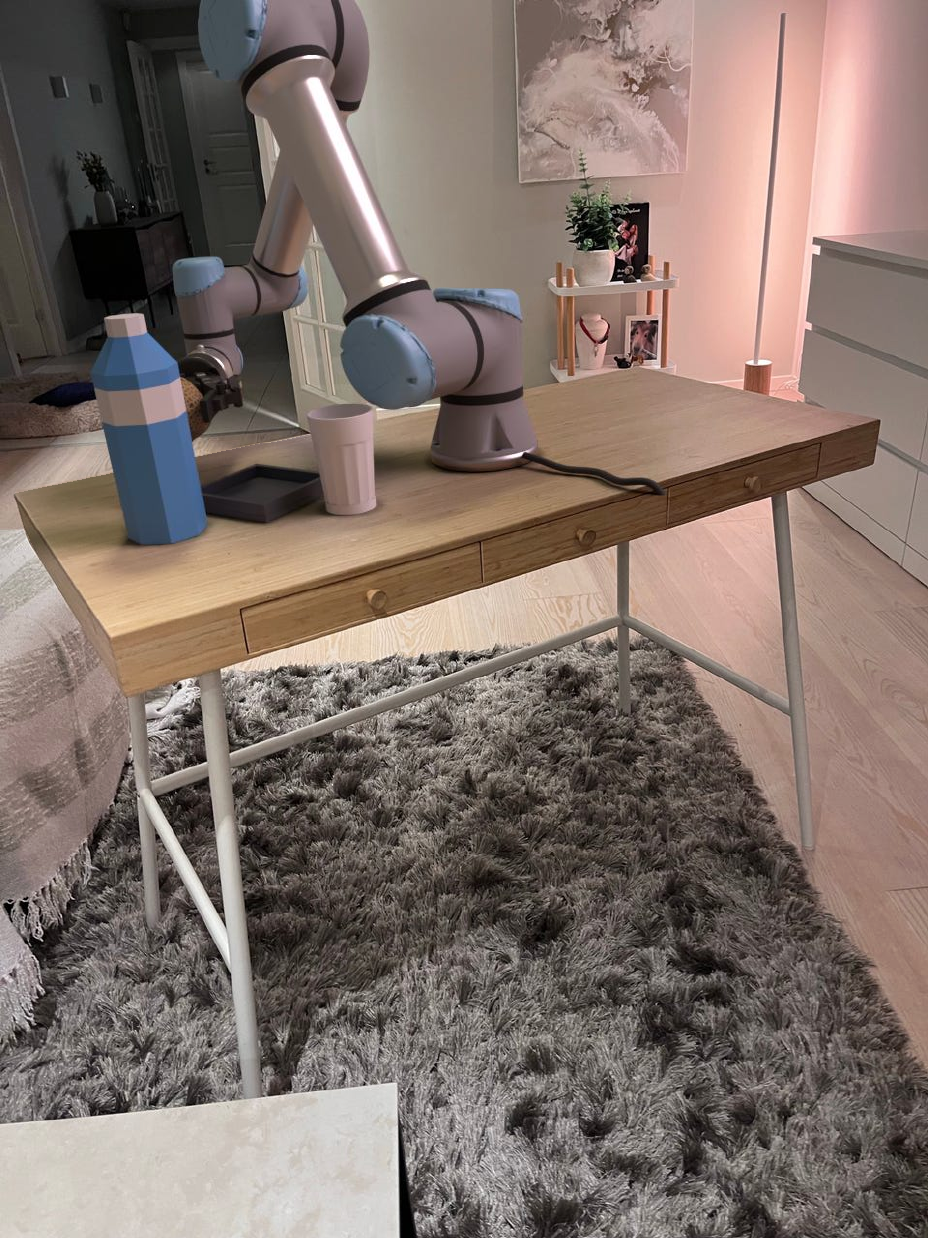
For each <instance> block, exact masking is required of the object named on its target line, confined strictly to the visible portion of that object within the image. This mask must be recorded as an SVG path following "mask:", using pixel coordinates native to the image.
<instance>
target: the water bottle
mask: <svg viewBox="0 0 928 1238" xmlns="http://www.w3.org/2000/svg"><path fill="white" fill-rule="evenodd" d="M103 322H104V324H105V330H106V334H107V337H106V339H105V342H104V344H103V346H102V347H101V350H100V352H99V354H98V356H97V358H96V360H95V362H94V364H93V367H92V369H91V370H90V376H91V380H92V381H91V382H92V384H93V389H94V394H95V398H96V403H97V407H98V411H99V416H100V420H101V425H102V429H103V434H104V437H105V442H106V447H107V451H108V455H109V460H110V464H111V469H112V473H113V477H114V482H115V486H116V489H117V495H118V499H119V500H118V501H119V503H120V507H121V513H122V517H123V521H124V526H125V528H126V529H125V530H126V535H127V538H128V539H129V540H131V541H133V542H135V543H137V544H139V545H141V546H144V545H145V546H146V545H147V546H149V545H172V544H175V543H179V542H181V541H185V540H188V539H190V538H195V537H197V536H200V535H201V534H202V533H203V531H204V530H205V529H206V528H207V526H208V525H209V524H208V519H207V513H205V508H204V502H203V497H202V492H201V486H202V485H201V482H200V476H199V471H198V465H197V459H196V456H195V455H196V454H195V449H194V445H193V442H192V438H191V433H190V428H189V422H188V417H187V412H186V406H185V401H184V396H183V390H182V385H181V380H180V374H179V369H178V364H177V362H178V361H177V360H175V359H174V358H173V356H172V355H171V354H170V353H169V352H168V351H167V350H165V349H164V347H163V346H161V344H160V343H159V342H158V341H157V340H156V339H155V338H153V336H151V334H149V332H148V330H147V325H146V320H145V315H144V313H138V312H135V313H122V314H121V313H120V314H117V315H114V314H113V315H108V316H106V317H104V318H103Z"/></svg>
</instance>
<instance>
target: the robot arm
mask: <svg viewBox="0 0 928 1238" xmlns="http://www.w3.org/2000/svg"><path fill="white" fill-rule="evenodd" d="M198 12H199V13H198V20H197V29H198V31H197V32H198V41H199V47H200V50H201V51H200V52H201V55H202V58H203V61H204V62H205V65H206V67H207V69H208V70H209V71H210V73H211V74H212V75H213V76H214V77H215V78H217V79H220V80H221V81H223V82H224V83H226V84H236V85H237V87H238V89H239V91H240V93H241V96H242V98H243V101H244V102H245V105H246V108H247V109H248V111H249V112H250V113H252V114H253V115H254V116H257V117H260V118H263V119H265V120H266V121H267V124H268V126H269V129H270V130H271V132H272V136H273V137H274V139H275V141H276V144H277V146H278V148H279V153H278V156H277V161H276V164H275V168H274V171H273V175H272V179H271V182H270V187H269V189H268V195H267V198H266V201H265V206H264V209H263V213H262V217H261V220H260V225H259V228H258V232H257V235H256V238H255V239H256V240H255V242H254V243H255V244H254V247H253V250H252V253H251V257H250V260H249V263H247V264H244V265H237V266H227V267H225V266H224V262H223V259H222V258H220V257H219V256H197V257H187V258H181V259H178V260H176V261H175V262H174V263H173V265H172V277H173V278H172V280H173V289H174V294H175V297H176V301H177V302H176V303H177V306H178V307H177V308H178V311H179V316H180V320H181V325H182V330H183V332H182V333H183V340H184V346H185V351H186V355H185V356H183V357H181V359H180V360H178V361H176V362H177V364H178V369H179V374H180V377H181V378H184V379H186V380H187V381H189V382H191V383H192V384H193V385H194V386H195V387H196V388H197V389H198V390H199V391H200V393H201V394H202V396H203V398H202V399H201V400H200V406H201V412H202V417H203V423H209V422H210V421H211V420H212V421H213V420H214V418H215V416H217V414H218V413H219V412H222V411H224V410H227V409H229V408H230V405H232V406H233V407H234V408H239V409H240V408H242V407H244V400H243V393H244V390H243V384H242V383H243V382H242V378H241V373H242V370H243V366H244V358H243V354H242V352H241V349H240V348H239V346H238V345H237V343H236V337H235V330H234V320H240V319H243V318H248V317H254V316H259V315H267V314H272V313H281V312H286V311H288V310H291V309H294V308H298V307H299V306H301V305H302V304H303V303H304V302H305V300H306V299H307V296H308V293H309V289H308V282H309V281H308V276H307V273H306V271H305V269H304V268H303V266H302V263H303V260H304V257H305V255H306V250H307V247H308V245H309V241H310V238H311V235H312V232H313V231H312V230H313V228H314V229H315V231H316V234H317V235H318V238H319V240H320V243H321V245H322V247H323V250H324V252H325V254H326V256H327V257H328V260H329V263H330V265H331V267H332V270H333V271H334V275H335V276H336V279H337V281H338V283H339V286H340V288H341V290H342V293H343V295H344V297H345V298H346V304H345V308H344V310H343V313H342V316H341V319H342V322H343V324H344V326H345V329H344V330H343V332H342V335H341V337H340V338H341V339H340V345H339V347H340V349H342V352H341V353H340V361H341V366H342V368H343V371H344V375H345V376H346V379H347V380H348V382H349V384H350V385H351V387H352V388H353V389H354V391H355V392H356V393H357V394H358V396H360V397H361V398H362V399H363V400H364V401H366V402H367V403H369V404H371V405H373V406H375V407H378V408H379V409H382V410H388V411H396V410H400V409H405V408H416V407H420V406H421V405H423V404H424V403H426V402H429V401H432V400H436V399H439V404H440V405H439V411H438V414H437V419H436V423H435V427H434V431H433V435H432V440H431V445H430V458H431V462H432V463H433V464H434V465H436V466H438V467H440V468H443V469H446V470H452V471H460V472H490V471H499V470H507V469H511V468H515V467H519V466H523V465H525V464H528V463H530V462H532V463H535V464H538V465H542V466H544V467H547V468H550V469H552V470H554V471H556V472H561V473H567V474H574V475H589V476H596V477H599V478H601V479H603V480H606V481H607V482H609V483H611V484H613V485H617V486H622V487H630V486H631V487H632V486H645V487H648V488H649V489H651V490H652V491H654V493H655V494H656V495H658V496H667V493H666V491H665V490H664V488H663V487H662V486H661V485H660V484H659V483H658V482H656V481H655V480H653V479H651V478H649V477H648V478H647V477H641V476H640V477H638V476H637V477H636V476H635V477H620V476H617V475H614V474H612V473H610V472H609V471H607V470H604V469H601V468H596V467H589V466H575V465H565V464H562V463H559V462H556V461H553V460H551V459H548V458H546V457H543V456H539V440H538V437H537V434H536V431H535V429H534V425H533V422H532V420H531V418H530V415H529V412H528V409H527V406H526V404H525V403H526V402H525V401H524V400H525V399H524V376H523V375H524V369H523V368H524V367H523V335H522V333H523V332H522V324H523V317H522V313H521V303H520V301H521V300H520V296H519V295H518V294H517V293H516V291H514V290H512V289H507V288H484V287H483V288H482V287H479V288H478V287H436V288H435V289H434V290H433V291H432V288H431V287H430V284H429V282H428V279H427V278H426V277H424V276H421V275H419V274H417V273H415V272H412V271H410V269H409V267H408V264H407V262H406V260H405V257H404V254H403V253H402V250H401V248H400V246H399V243H398V241H397V239H396V237H395V234H394V232H393V230H392V228H391V226H390V223H389V221H388V218H387V216H386V214H385V212H384V209H383V207H382V204H381V202H380V200H379V198H378V196H377V194H376V191H375V188H374V186H373V184H372V182H371V180H370V177H369V175H368V172H367V171H366V168H365V165H364V163H363V161H362V159H361V156H360V154H359V152H358V149H357V147H356V145H355V143H354V141H353V138H352V136H351V134H350V132H349V129H348V127H347V125H346V124H347V122H348V119H349V116H350V115H352V114H355V113H356V112H358V111H359V109H360V106H361V103H362V100H363V97H364V93H365V91H366V85H367V82H368V77H369V68H370V55H371V54H370V53H371V51H370V40H369V34H368V33H369V32H368V28H367V24H366V21H365V18H364V15H363V14H362V11H361V8H360V7H359V5H358V4H357V2H356V1H355V0H200V3H199V10H198ZM212 421H211V422H212Z"/></svg>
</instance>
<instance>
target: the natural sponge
mask: <svg viewBox="0 0 928 1238" xmlns="http://www.w3.org/2000/svg"><path fill="white" fill-rule="evenodd" d="M180 380H181V385H182V390H183V396H184V401H185V406H186V412H187V417H188V422H189V428H190V433H191V438H192V443H193V442H194V441H196V440H197V439H198V438H199V437H201V436H202V435H204V433H206V432H207V431H208V429H209V428H210V426H211V424H212V421H213V419H212V420H211V421H210V422H209V423H203V417H202V412H201V406H200V400H201V399H202V398H203V396H202V394H201V393H200V391H199V390H198V389H197V388H196V387H195V386H194V385H193V384H192V383H191V382H189V381H187V380H186V379H184V378H181V377H180Z"/></svg>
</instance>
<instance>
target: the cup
mask: <svg viewBox="0 0 928 1238" xmlns="http://www.w3.org/2000/svg"><path fill="white" fill-rule="evenodd" d="M306 418H307V423H308V428H309V432H310V436H311V440H312V446H313V449H314V454H315V459H316V464H317V468H318V472H319V474H320V479H321V483H322V488H323V493H324V496H323V497H324V504H325V505H324V506H325V511H326V512H327V513H329V514H332V515H336V516H354V515H360V514H363V513H367V512H370V511H372V510H373V509H375V508H376V507H377V497H376V495H377V494H376V489H375V488H376V487H375V456H374V453H375V452H374V451H375V450H374V434H375V433H374V432H375V431H374V427H375V425H374V408H373V406H371V405H368V404H365V403H364V404H363V403H338V404H331V405H324V406H320V407H317V408H314V409H312V410H309V411H308V412H307V413H306Z"/></svg>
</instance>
